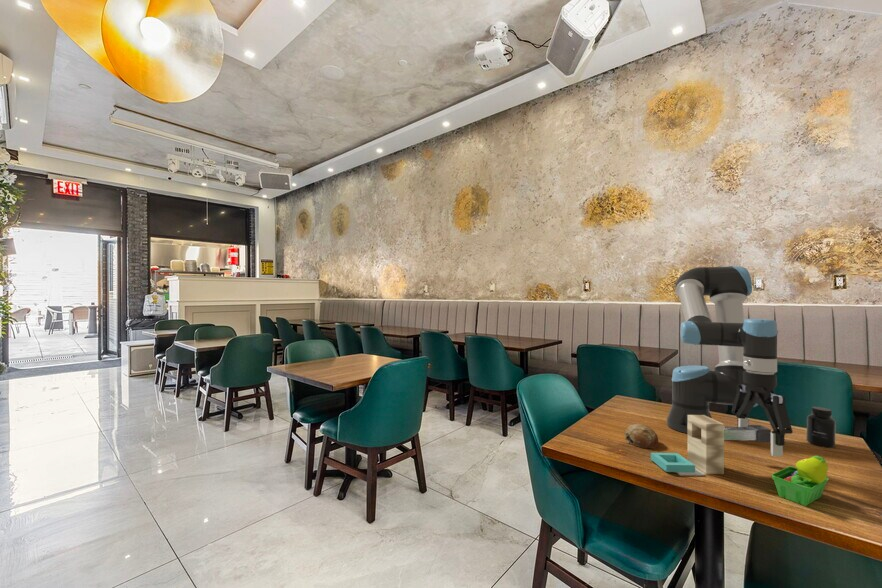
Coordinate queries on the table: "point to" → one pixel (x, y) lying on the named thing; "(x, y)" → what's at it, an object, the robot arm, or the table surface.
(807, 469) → the fruit basket
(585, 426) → the table surface
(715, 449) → the light wood tall block
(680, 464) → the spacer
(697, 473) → the mat
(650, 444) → the brown rounded lump
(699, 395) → the robot arm
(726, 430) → the shaft
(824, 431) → the supplement bottle
